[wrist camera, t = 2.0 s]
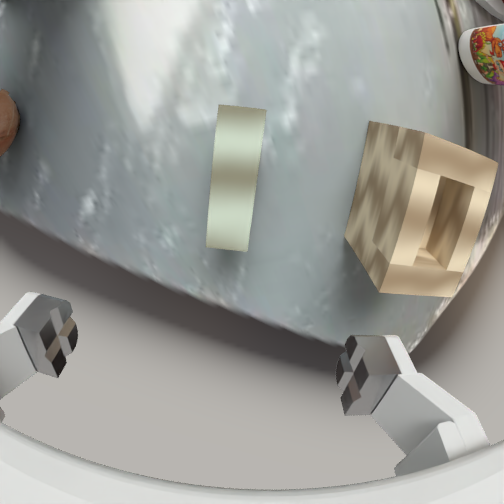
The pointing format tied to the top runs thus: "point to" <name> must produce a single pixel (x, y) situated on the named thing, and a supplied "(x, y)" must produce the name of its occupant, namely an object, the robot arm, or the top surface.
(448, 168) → the wooden square frame
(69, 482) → the robot arm
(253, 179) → the rail end
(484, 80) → the milk bottle
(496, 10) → the gramophone
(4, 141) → the onion
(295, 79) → the top surface
